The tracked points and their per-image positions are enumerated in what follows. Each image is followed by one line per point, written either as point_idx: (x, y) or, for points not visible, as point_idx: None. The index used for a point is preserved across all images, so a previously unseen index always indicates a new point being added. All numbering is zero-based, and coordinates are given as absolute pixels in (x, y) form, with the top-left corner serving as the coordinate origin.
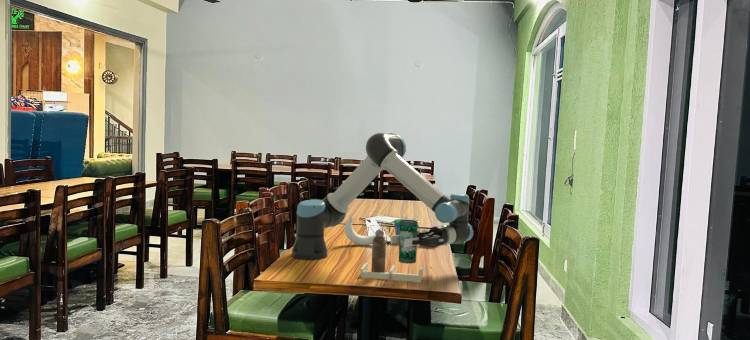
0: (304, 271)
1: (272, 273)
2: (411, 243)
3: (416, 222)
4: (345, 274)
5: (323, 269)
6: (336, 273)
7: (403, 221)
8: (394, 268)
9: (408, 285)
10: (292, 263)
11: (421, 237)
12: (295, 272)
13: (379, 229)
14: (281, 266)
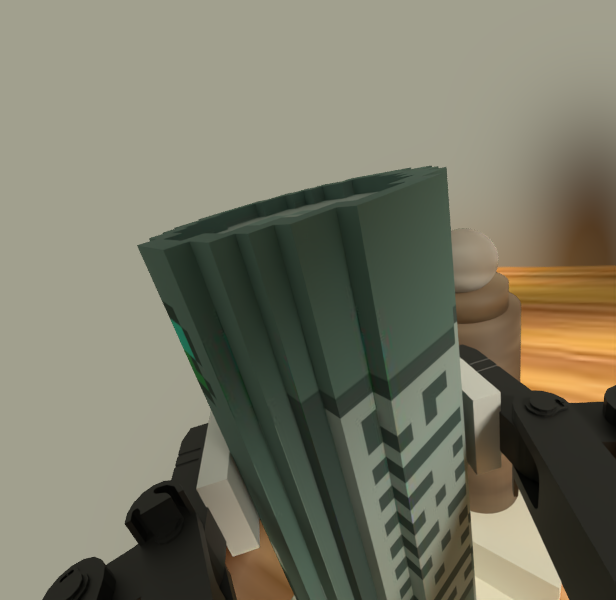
0: (546, 304)
1: (505, 271)
2: None
3: (145, 255)
4: (526, 381)
5: (601, 335)
6: (538, 360)
7: (285, 195)
8: (494, 561)
9: (285, 596)
10: None
11: (142, 509)
12: (526, 293)
13: (460, 229)
14: (601, 272)
